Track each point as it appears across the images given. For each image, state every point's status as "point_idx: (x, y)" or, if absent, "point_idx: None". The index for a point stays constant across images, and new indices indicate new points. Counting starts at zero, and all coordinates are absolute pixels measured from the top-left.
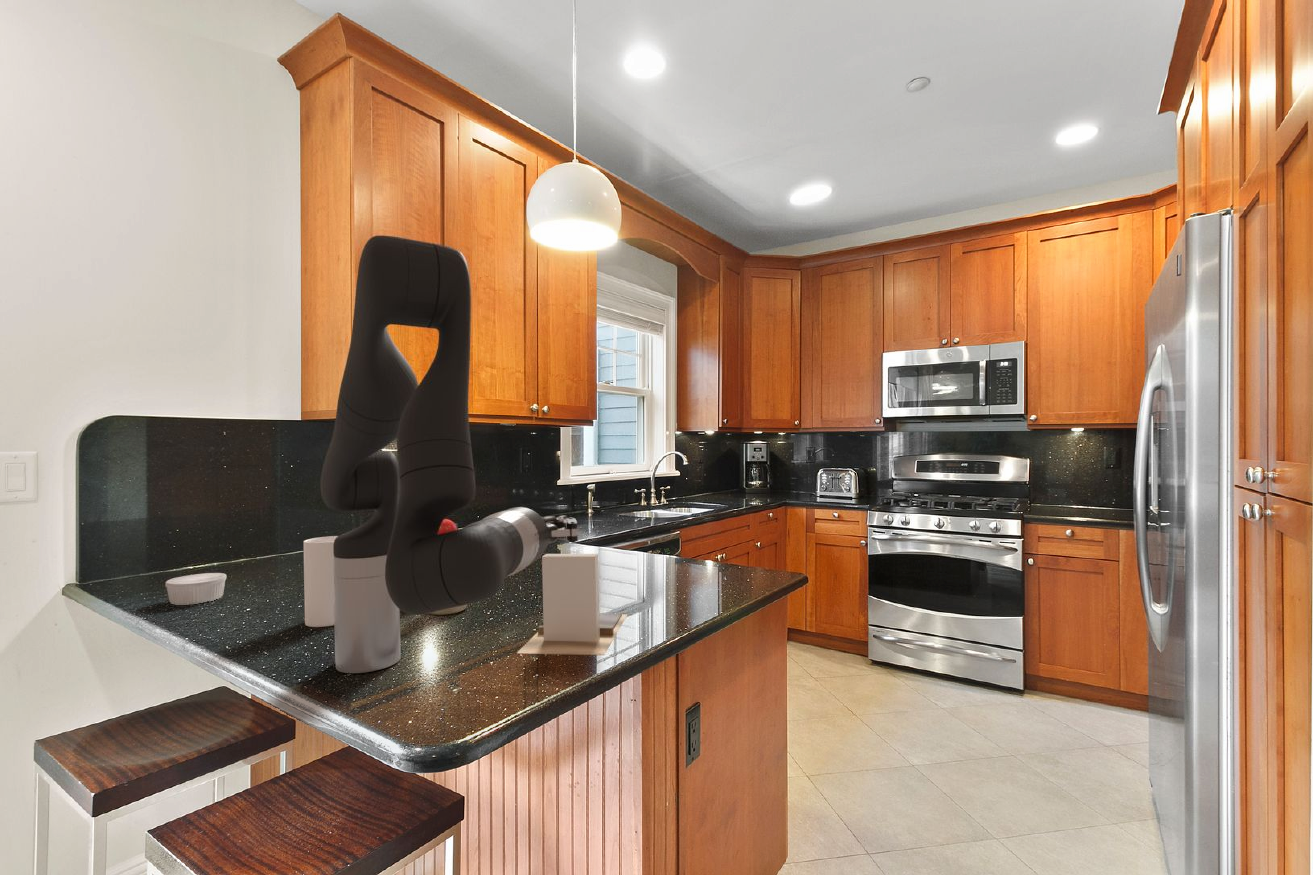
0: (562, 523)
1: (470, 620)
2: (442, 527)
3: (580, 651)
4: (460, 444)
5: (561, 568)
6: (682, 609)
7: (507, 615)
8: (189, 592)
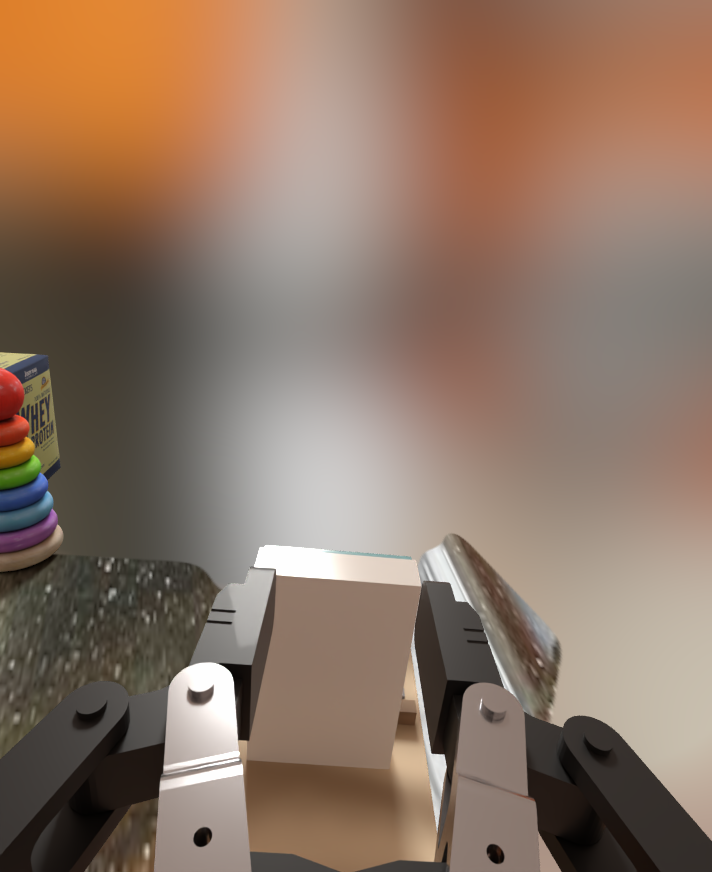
0: (532, 776)
1: (63, 600)
2: None
3: (366, 856)
4: None
5: (311, 608)
6: (486, 574)
7: (148, 580)
8: None
